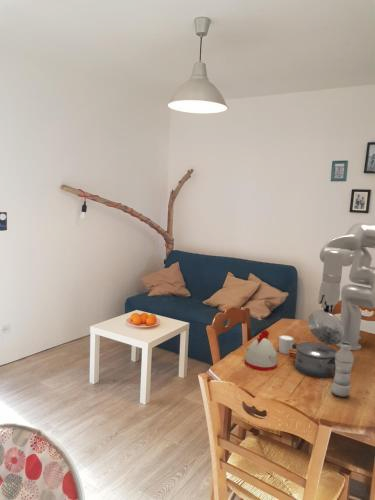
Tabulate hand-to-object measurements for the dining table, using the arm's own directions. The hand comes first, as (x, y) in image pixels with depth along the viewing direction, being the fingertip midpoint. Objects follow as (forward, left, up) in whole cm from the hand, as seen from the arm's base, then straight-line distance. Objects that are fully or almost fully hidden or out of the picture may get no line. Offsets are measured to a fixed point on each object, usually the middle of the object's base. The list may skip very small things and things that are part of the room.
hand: (327, 319), depth 167 cm
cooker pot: (+7, +2, -21) cm, 22 cm away
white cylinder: (+1, -19, -21) cm, 28 cm away
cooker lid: (+1, 0, -4) cm, 4 cm away
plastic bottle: (+19, +18, -21) cm, 34 cm away
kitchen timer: (+22, -17, -21) cm, 35 cm away
